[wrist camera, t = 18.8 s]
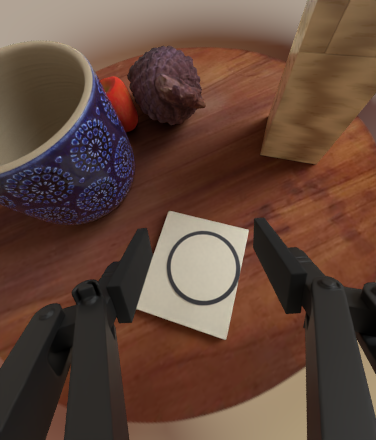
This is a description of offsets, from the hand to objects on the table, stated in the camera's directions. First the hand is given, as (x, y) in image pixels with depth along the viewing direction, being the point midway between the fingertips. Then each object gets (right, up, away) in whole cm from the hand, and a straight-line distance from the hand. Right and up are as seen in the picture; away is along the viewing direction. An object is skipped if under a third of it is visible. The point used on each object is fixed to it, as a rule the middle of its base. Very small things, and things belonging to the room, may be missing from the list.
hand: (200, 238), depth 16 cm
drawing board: (0, -5, +9) cm, 10 cm away
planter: (-16, +7, +15) cm, 23 cm away
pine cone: (-4, +21, +19) cm, 29 cm away
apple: (-11, +17, +18) cm, 28 cm away
